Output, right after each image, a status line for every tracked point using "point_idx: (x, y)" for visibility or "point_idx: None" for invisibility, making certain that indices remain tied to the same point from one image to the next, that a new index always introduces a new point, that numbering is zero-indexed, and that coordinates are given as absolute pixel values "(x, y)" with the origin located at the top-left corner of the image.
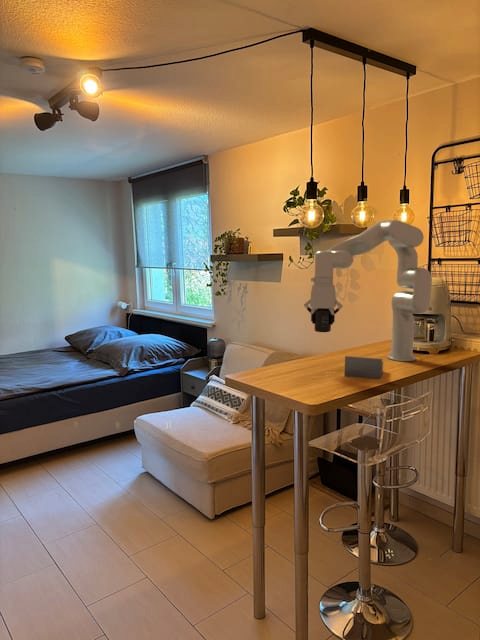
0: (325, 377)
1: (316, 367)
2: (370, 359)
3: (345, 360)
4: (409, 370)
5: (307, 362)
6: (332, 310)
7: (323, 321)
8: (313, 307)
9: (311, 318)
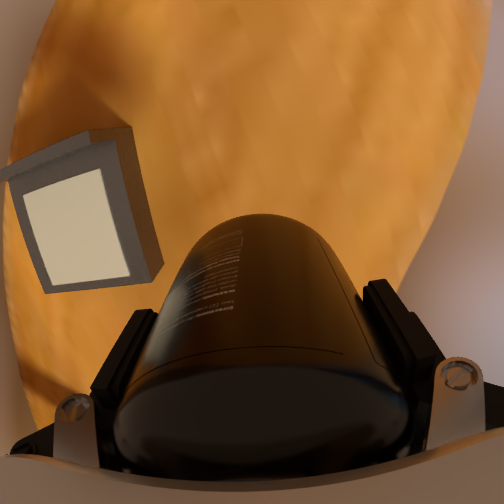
0: (193, 62)
1: (290, 211)
2: (7, 166)
3: (96, 129)
4: (29, 318)
5: (351, 278)
6: (61, 452)
7: (211, 269)
8: (499, 437)
9: (421, 329)
